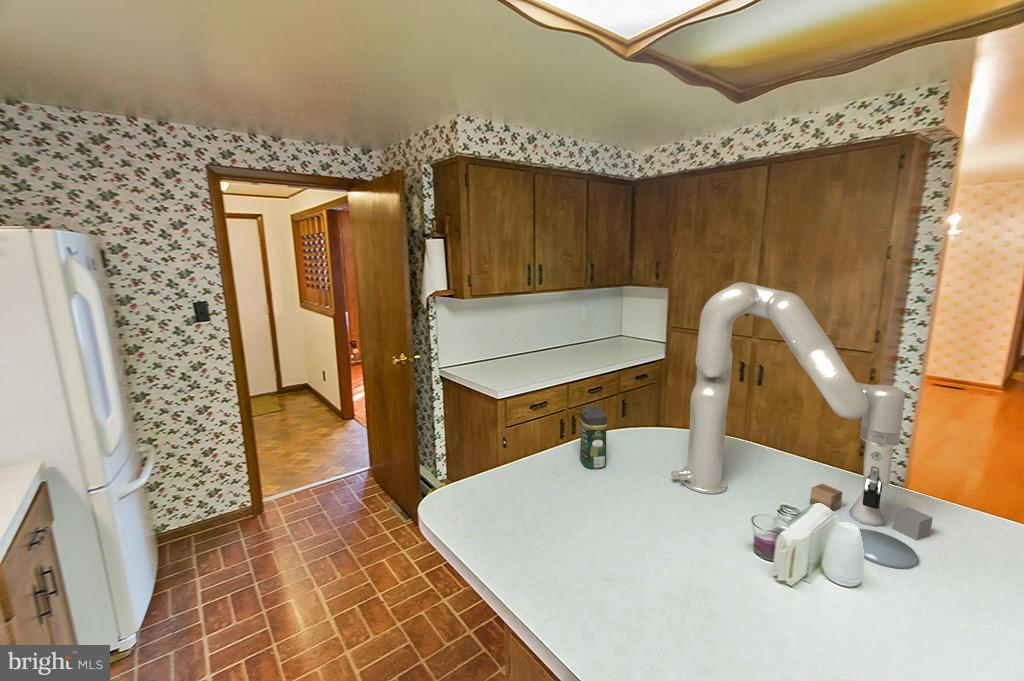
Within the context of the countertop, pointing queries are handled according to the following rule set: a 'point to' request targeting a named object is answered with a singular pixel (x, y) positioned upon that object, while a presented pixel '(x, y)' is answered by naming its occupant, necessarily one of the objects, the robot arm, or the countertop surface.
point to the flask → (866, 512)
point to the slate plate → (887, 550)
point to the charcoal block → (912, 523)
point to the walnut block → (826, 496)
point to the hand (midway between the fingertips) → (872, 498)
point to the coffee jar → (593, 438)
